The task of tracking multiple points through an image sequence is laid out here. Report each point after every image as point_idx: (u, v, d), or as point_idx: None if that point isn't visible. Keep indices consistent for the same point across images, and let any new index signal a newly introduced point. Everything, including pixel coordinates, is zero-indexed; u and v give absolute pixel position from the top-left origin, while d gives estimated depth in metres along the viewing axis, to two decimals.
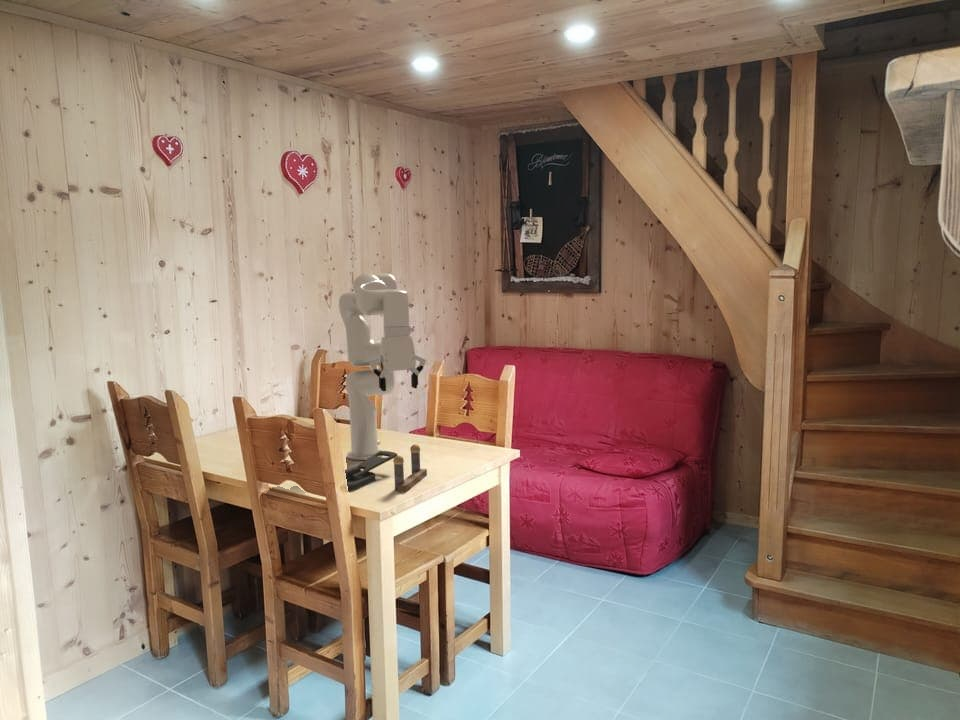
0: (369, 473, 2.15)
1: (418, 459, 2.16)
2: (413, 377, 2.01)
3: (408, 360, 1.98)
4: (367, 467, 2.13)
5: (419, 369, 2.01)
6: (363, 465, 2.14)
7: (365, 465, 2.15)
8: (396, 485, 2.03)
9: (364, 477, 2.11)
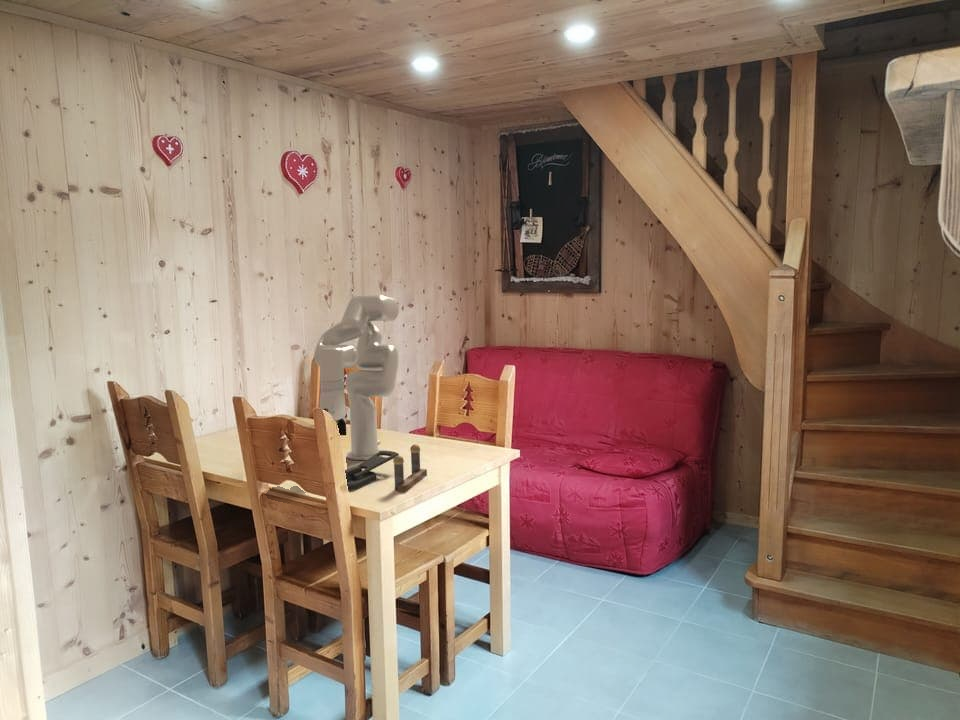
0: (370, 473, 2.15)
1: (418, 459, 2.16)
2: (342, 425, 2.19)
3: (343, 410, 2.17)
4: (368, 467, 2.13)
5: (345, 417, 2.21)
6: (364, 465, 2.15)
7: (366, 465, 2.15)
8: (396, 485, 2.03)
9: (365, 476, 2.11)
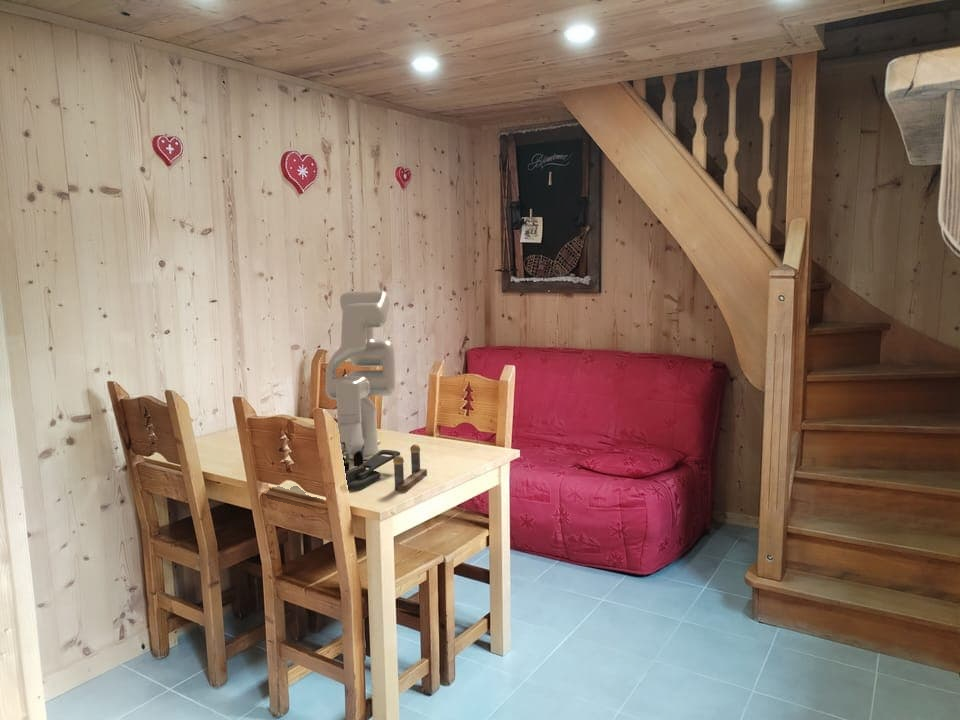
0: (374, 472, 2.15)
1: (418, 459, 2.16)
2: (359, 457, 2.20)
3: (360, 442, 2.17)
4: (372, 466, 2.13)
5: (362, 448, 2.21)
6: (367, 465, 2.15)
7: (370, 464, 2.15)
8: (396, 485, 2.03)
9: (369, 475, 2.12)
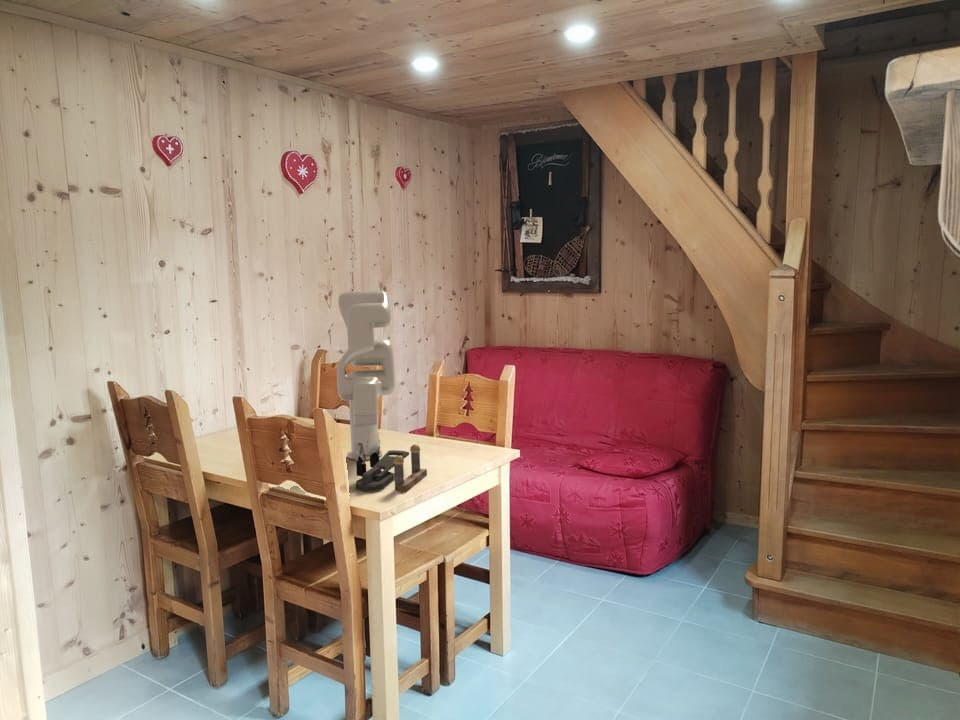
0: (387, 473, 2.14)
1: (418, 459, 2.16)
2: (375, 458, 2.18)
3: (377, 443, 2.15)
4: (386, 467, 2.12)
5: (378, 449, 2.20)
6: (381, 465, 2.14)
7: (383, 465, 2.14)
8: (396, 485, 2.03)
9: (385, 476, 2.10)
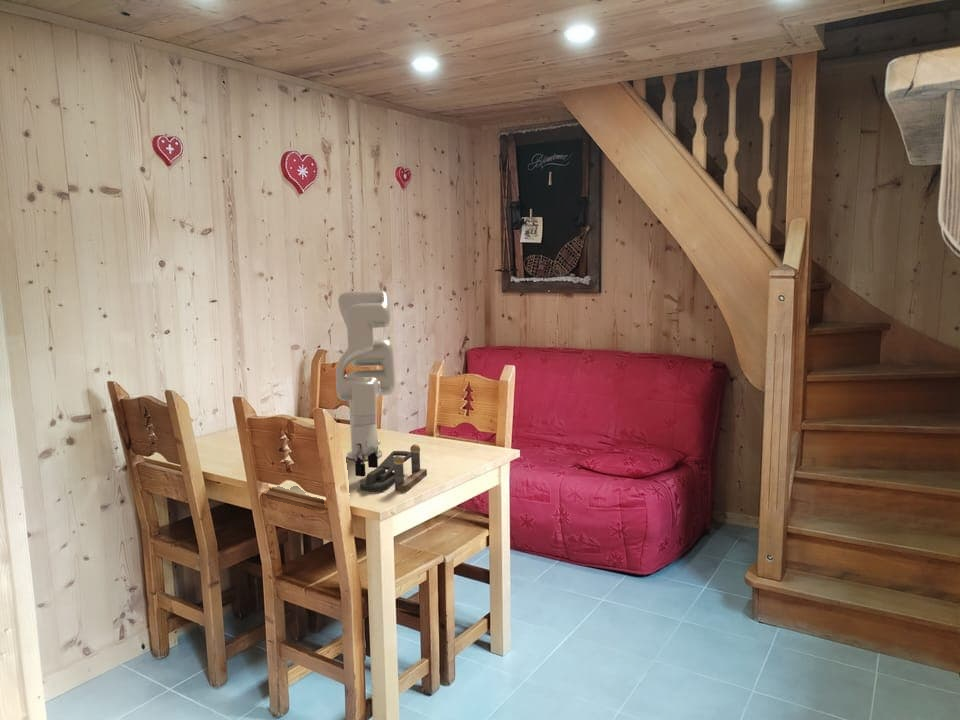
0: (391, 473, 2.14)
1: (418, 459, 2.16)
2: (373, 458, 2.18)
3: (375, 443, 2.16)
4: (391, 467, 2.12)
5: (376, 449, 2.20)
6: (385, 466, 2.13)
7: (387, 465, 2.14)
8: (396, 485, 2.03)
9: (389, 477, 2.10)
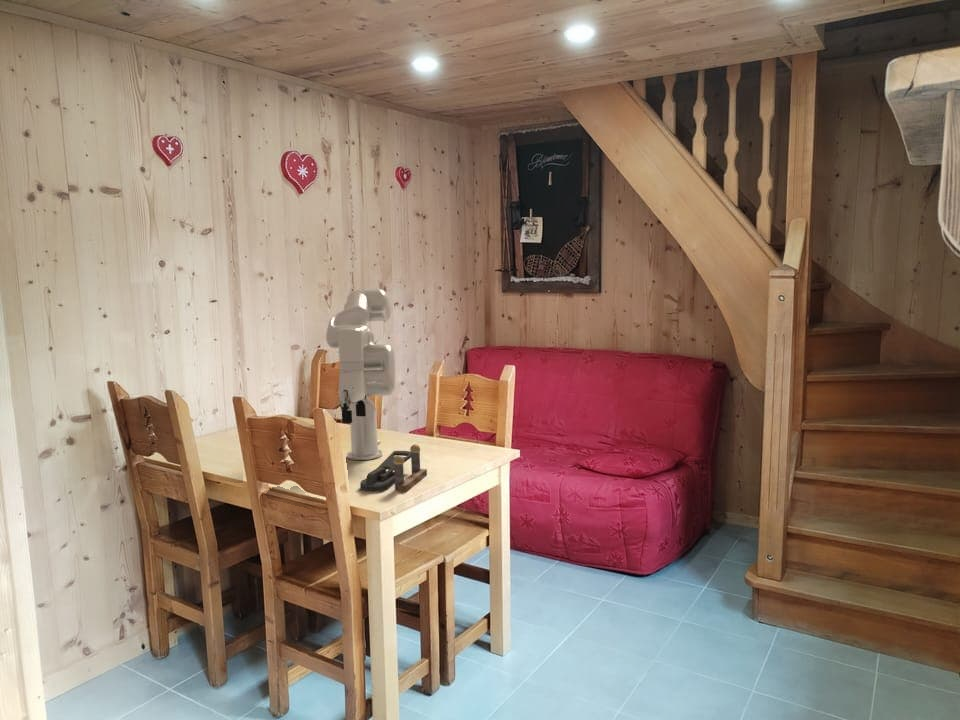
0: (392, 473, 2.14)
1: (418, 459, 2.16)
2: (361, 406, 2.17)
3: (363, 391, 2.14)
4: (391, 467, 2.12)
5: (364, 398, 2.19)
6: (386, 466, 2.13)
7: (388, 465, 2.14)
8: (396, 485, 2.03)
9: (390, 476, 2.10)
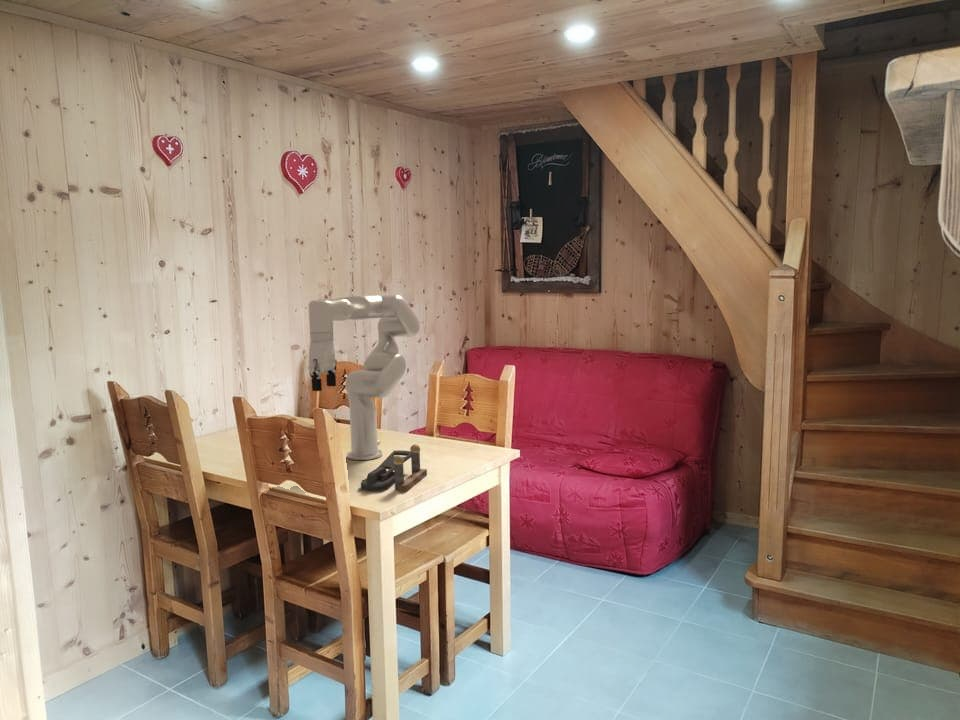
0: (392, 473, 2.15)
1: (418, 459, 2.16)
2: (332, 376, 2.27)
3: (332, 361, 2.24)
4: (391, 467, 2.13)
5: (334, 369, 2.28)
6: (386, 465, 2.14)
7: (388, 465, 2.14)
8: (396, 485, 2.03)
9: (390, 476, 2.11)
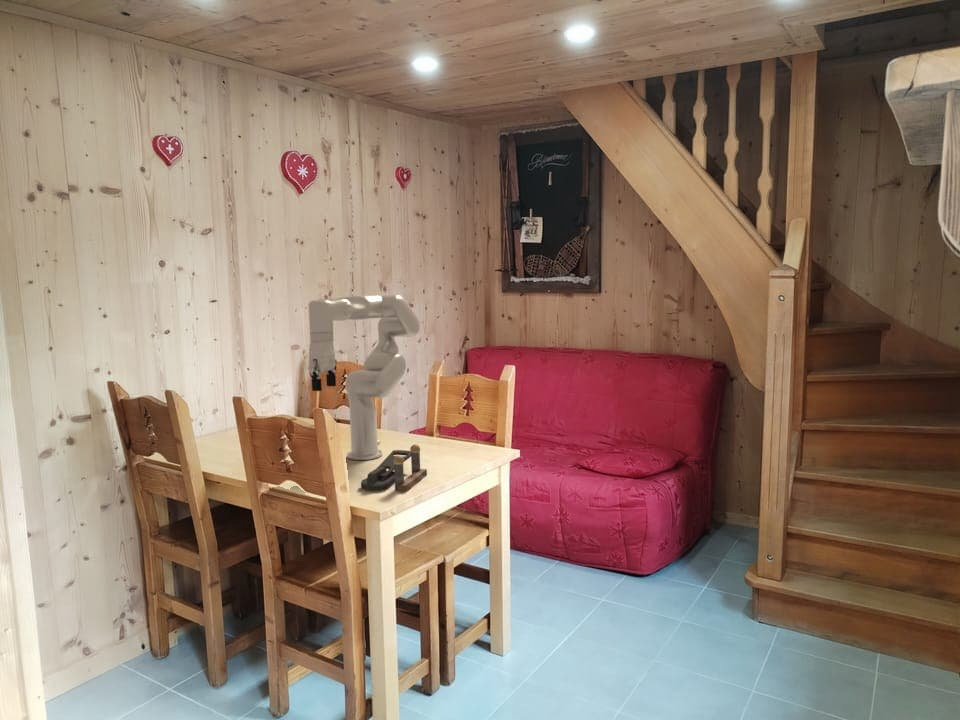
0: (392, 472, 2.15)
1: (418, 459, 2.16)
2: (332, 376, 2.27)
3: (332, 361, 2.24)
4: (391, 466, 2.13)
5: (334, 369, 2.28)
6: (386, 465, 2.14)
7: (388, 465, 2.14)
8: (396, 485, 2.03)
9: (390, 476, 2.11)
